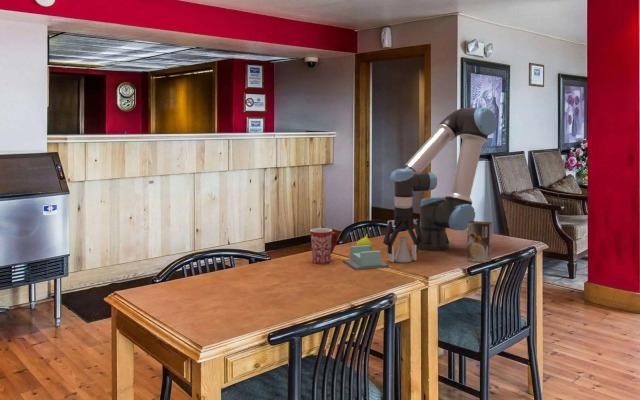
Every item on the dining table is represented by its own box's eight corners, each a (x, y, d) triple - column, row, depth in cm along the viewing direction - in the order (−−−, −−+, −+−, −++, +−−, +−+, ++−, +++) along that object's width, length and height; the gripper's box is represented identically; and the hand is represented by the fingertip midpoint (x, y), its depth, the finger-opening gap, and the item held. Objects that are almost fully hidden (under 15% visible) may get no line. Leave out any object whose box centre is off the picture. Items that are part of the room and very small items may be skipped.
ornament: (373, 253, 246) (373, 230, 245) (371, 256, 239) (371, 233, 238) (356, 252, 248) (357, 230, 246) (355, 256, 241) (355, 233, 239)
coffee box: (491, 260, 232) (492, 221, 230) (489, 263, 226) (490, 224, 224) (469, 258, 236) (470, 220, 234) (466, 261, 230) (467, 222, 228)
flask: (390, 260, 233) (391, 236, 232) (405, 258, 236) (406, 235, 235) (400, 263, 227) (400, 239, 225) (415, 262, 229) (415, 238, 228)
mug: (319, 266, 224) (319, 232, 222) (306, 261, 231) (305, 229, 229) (343, 261, 231) (343, 229, 230) (330, 257, 239) (329, 226, 237)
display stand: (375, 259, 234) (375, 244, 233) (388, 267, 221) (388, 251, 220) (343, 261, 230) (343, 246, 229) (354, 270, 217) (354, 253, 216)
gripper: (423, 204, 235) (422, 256, 238) (375, 206, 229) (374, 260, 232) (432, 206, 228) (431, 260, 231) (382, 209, 222) (381, 264, 225)
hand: (402, 260), depth 231 cm, fingers open, 9 cm apart
